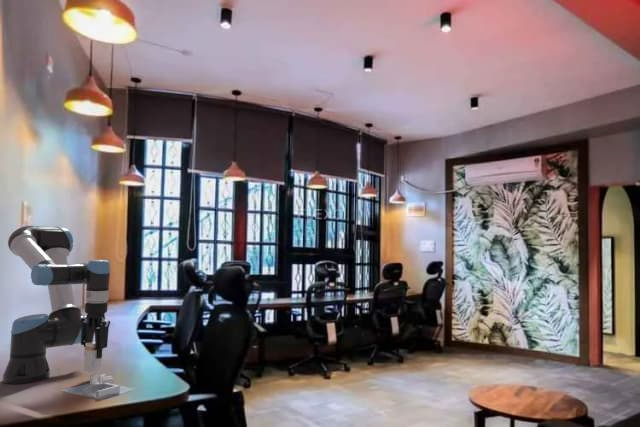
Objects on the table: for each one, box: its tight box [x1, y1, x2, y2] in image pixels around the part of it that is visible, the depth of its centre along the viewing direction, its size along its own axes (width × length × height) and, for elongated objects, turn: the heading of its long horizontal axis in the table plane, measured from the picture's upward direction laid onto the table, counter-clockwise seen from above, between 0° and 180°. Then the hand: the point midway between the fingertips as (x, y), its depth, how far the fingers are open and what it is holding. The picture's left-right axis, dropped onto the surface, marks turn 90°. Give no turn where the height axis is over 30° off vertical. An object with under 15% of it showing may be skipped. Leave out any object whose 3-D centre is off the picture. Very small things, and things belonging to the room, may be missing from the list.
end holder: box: [81, 382, 121, 400], centre depth 154 cm, size 8×8×2 cm
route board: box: [60, 380, 137, 401], centre depth 159 cm, size 20×14×1 cm
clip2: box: [101, 375, 114, 384], centre depth 161 cm, size 4×3×3 cm
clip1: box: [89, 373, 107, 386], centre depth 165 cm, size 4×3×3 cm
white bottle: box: [83, 340, 102, 373], centre depth 172 cm, size 4×4×10 cm
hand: (92, 366), depth 172 cm, fingers closed on white bottle, 4 cm apart
